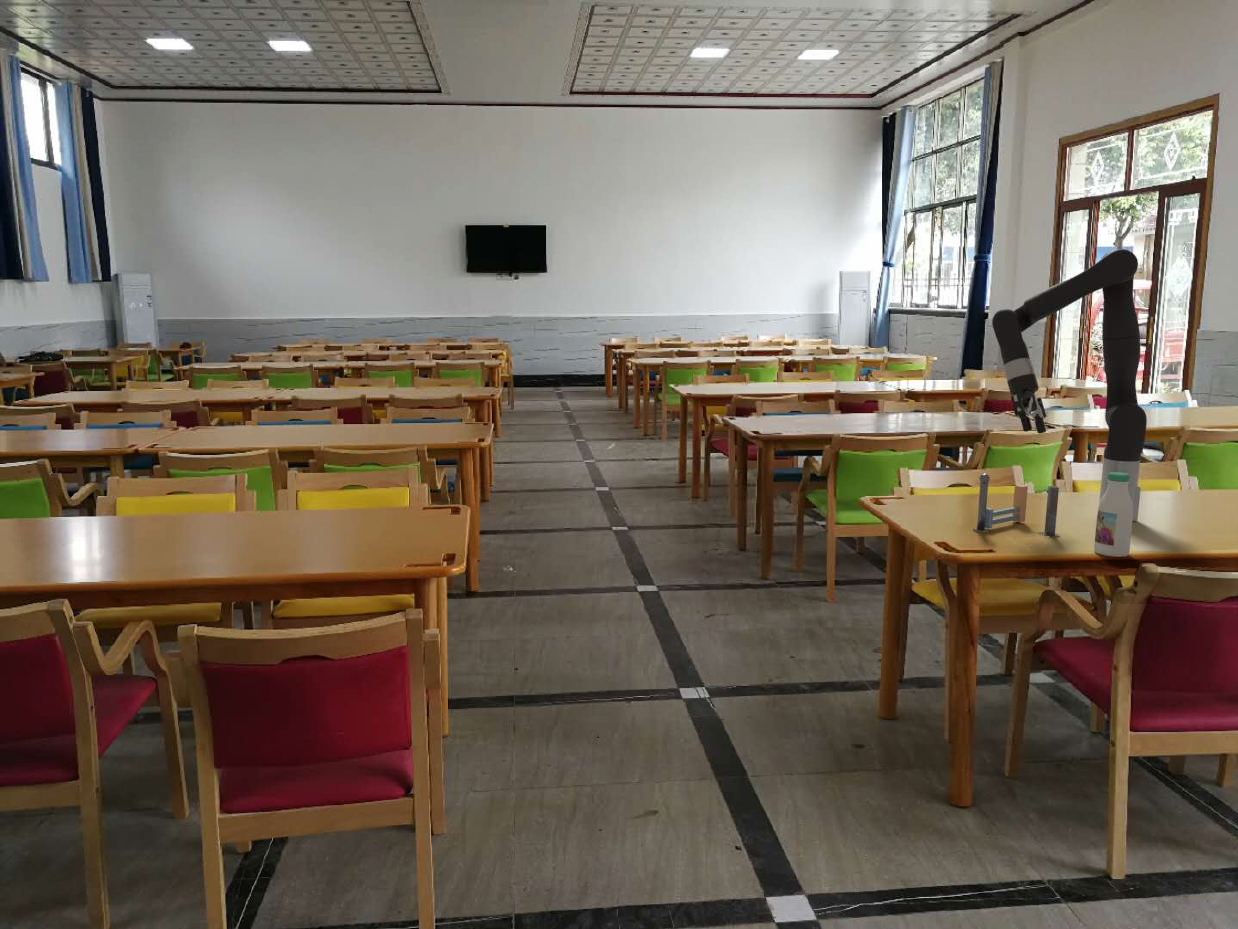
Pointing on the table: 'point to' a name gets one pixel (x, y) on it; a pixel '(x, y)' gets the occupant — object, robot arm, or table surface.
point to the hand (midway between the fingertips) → (1035, 431)
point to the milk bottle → (1114, 518)
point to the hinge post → (982, 503)
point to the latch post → (1051, 512)
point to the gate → (1010, 509)
